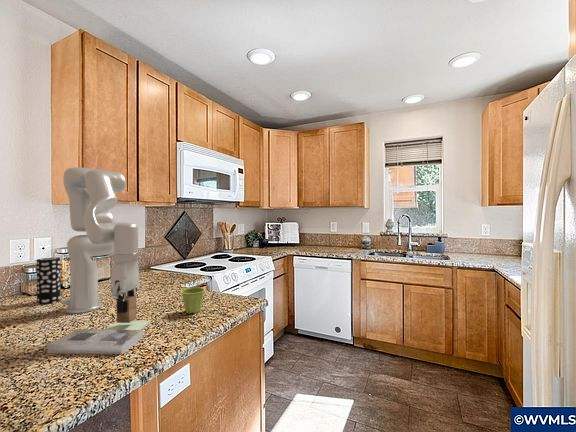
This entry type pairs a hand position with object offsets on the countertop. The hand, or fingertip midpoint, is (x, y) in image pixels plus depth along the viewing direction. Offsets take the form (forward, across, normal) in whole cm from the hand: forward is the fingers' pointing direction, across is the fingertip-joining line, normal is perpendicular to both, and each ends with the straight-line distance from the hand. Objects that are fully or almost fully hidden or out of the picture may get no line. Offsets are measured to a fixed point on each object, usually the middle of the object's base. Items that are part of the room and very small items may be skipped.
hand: (126, 309), depth 100 cm
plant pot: (+7, -18, +17) cm, 26 cm away
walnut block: (+4, 0, 0) cm, 4 cm away
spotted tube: (+7, -29, -55) cm, 62 cm away
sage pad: (+7, 0, 0) cm, 7 cm away
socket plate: (+7, +13, -1) cm, 15 cm away
